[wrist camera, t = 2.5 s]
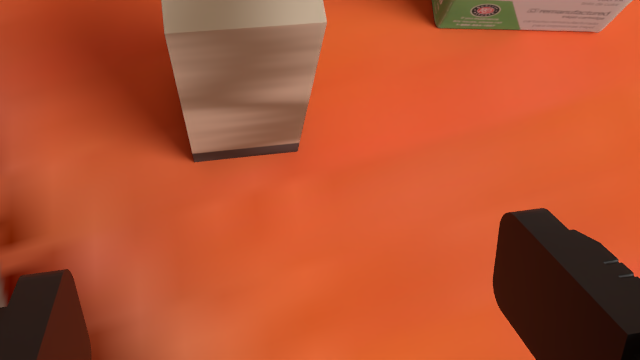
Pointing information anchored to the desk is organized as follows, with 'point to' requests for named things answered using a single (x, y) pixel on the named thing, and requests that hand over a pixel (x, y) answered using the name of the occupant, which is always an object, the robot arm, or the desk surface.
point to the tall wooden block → (243, 72)
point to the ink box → (527, 14)
